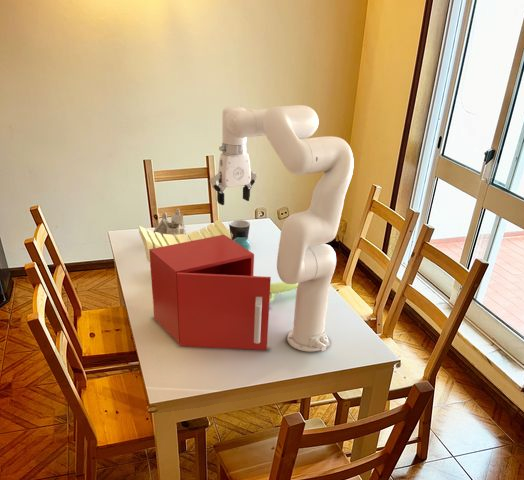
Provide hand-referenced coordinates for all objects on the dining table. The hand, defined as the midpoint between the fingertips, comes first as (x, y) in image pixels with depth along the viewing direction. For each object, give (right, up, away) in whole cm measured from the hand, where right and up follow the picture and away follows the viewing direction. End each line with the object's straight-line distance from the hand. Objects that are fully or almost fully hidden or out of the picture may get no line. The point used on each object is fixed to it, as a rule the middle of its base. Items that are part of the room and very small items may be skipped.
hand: (233, 201), depth 184 cm
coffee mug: (0, -5, +50) cm, 50 cm away
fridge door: (-2, -50, -21) cm, 54 cm away
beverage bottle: (+1, -24, +20) cm, 32 cm away
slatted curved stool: (-19, -22, +23) cm, 37 cm away
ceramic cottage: (-29, -6, +46) cm, 55 cm away
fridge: (-10, -40, -5) cm, 41 cm away
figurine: (+17, -32, +10) cm, 38 cm away
